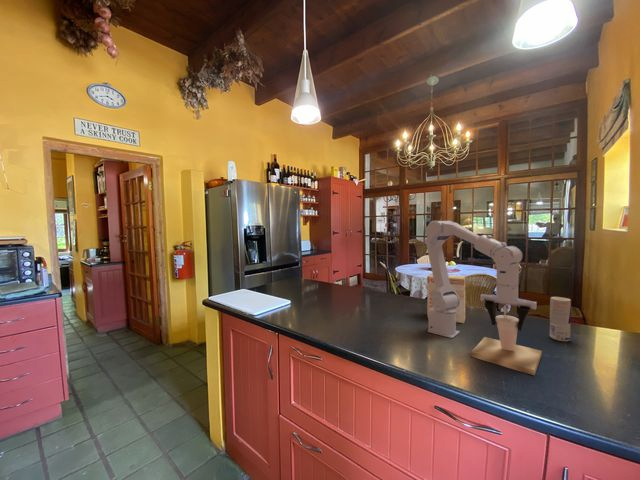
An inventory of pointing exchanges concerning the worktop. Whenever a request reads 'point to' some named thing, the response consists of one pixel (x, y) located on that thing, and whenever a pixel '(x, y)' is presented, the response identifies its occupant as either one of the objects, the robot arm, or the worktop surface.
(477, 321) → the worktop surface
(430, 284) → the coffeecake box
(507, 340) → the smoothie
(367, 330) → the worktop surface
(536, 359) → the base board
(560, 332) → the beverage can
